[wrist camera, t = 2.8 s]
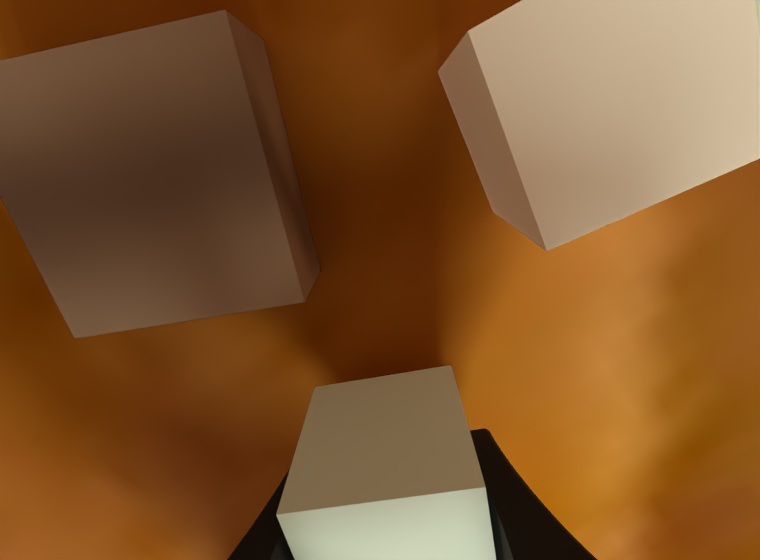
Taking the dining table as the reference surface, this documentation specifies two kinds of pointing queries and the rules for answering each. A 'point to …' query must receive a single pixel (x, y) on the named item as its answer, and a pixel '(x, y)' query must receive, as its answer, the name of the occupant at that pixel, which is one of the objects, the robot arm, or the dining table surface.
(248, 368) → the dining table surface
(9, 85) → the walnut base
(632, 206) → the cream cube
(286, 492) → the sage cube
